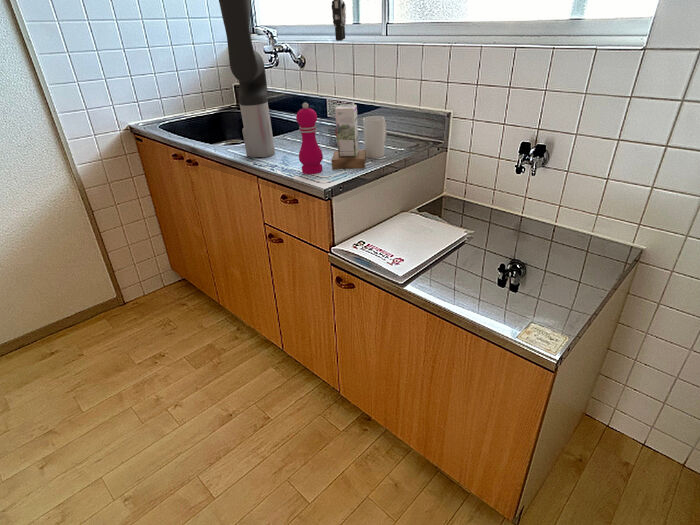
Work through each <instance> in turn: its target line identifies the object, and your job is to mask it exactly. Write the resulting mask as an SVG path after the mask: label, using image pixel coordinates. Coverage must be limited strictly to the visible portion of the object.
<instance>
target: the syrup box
mask: <svg viewBox="0 0 700 525" xmlns="http://www.w3.org/2000/svg"><path fill="white" fill-rule="evenodd" d="M334 111H335V112H334V113H335V114H334V115H335V124H336V125H335V126H336V128H335V129H337V138H336V141H337V151H338V156H339V157H356V156H357V154H358V152H359V150H360V147H359V131H358V130H359V129H358V127H359V126H358V124H359V123H358V106H357V104H338V105H337V106H336V107H335V108H334Z"/></svg>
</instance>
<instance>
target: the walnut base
mask: <svg viewBox="0 0 700 525" xmlns="http://www.w3.org/2000/svg"><path fill="white" fill-rule="evenodd" d="M366 161H367V157H366V150H365V149H359V152H358V154H357V156H356V157H339V156H338V150H334V151H333V155H332V158H331V169H332V170H333V171H334V170H357V169H358V170H359V169H361V170H362V169H365V168H366Z"/></svg>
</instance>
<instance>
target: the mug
mask: <svg viewBox="0 0 700 525" xmlns="http://www.w3.org/2000/svg"><path fill="white" fill-rule="evenodd" d="M362 124H363V125H362V127H363V139H364V140H363V143H364V150H366V159H372V160H373V159H381V158H383V157H384V156H385V144H386V138H387V125H386V121H385V117H384V116H381V115H380V116H379V115H378V116H377V115H372V116H366V117H363V118H362Z"/></svg>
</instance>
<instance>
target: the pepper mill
mask: <svg viewBox="0 0 700 525" xmlns="http://www.w3.org/2000/svg"><path fill="white" fill-rule="evenodd" d="M301 105H302V108H301V109H299V110H298V111H297V113H296V122H297V124H298V125H299V127H298V128H299V133H300V134H301V140H302V141H301V146H300V149H299V153H298V160H299V162H300V164H302V165H301V173H302V174H303V175H304V174H305V175H309V174H310V175H316V174H317V175H318V174H321V173H322V172H323V164H322V163H321V162H322V161H323V159H324V155H323V152H322V149H321V148H320V146H319V144H318V142H317V138H316V132H317V130H318V129H317V125H316V123H317V122H318V114H317V112H316V111H315V110H314V109H313V108H310V107H309V103H308V102H303V103H302V104H301Z"/></svg>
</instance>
